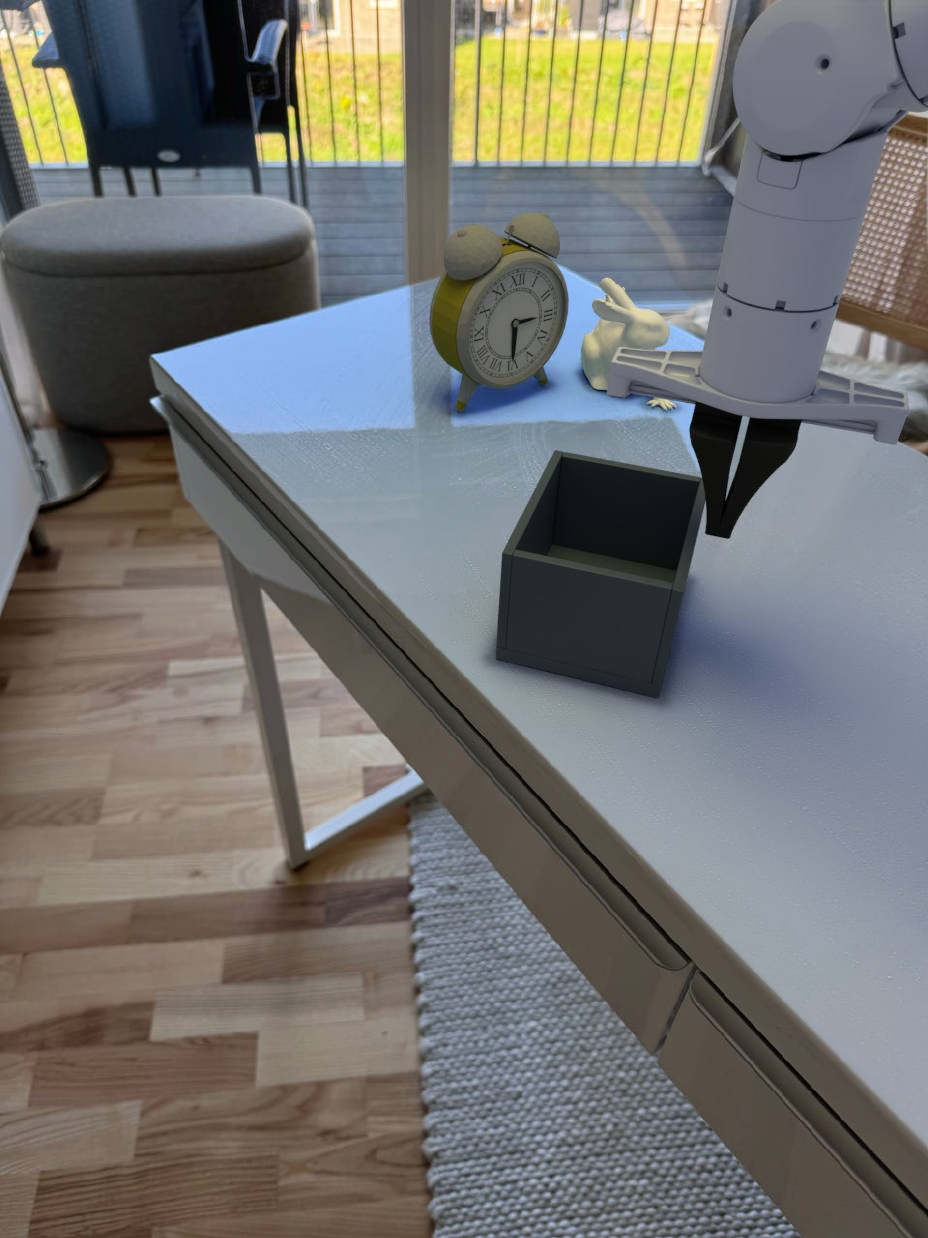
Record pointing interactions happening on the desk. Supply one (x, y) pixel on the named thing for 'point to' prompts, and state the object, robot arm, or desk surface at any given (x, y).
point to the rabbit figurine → (620, 335)
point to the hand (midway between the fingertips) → (719, 527)
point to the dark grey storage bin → (599, 571)
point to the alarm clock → (499, 304)
